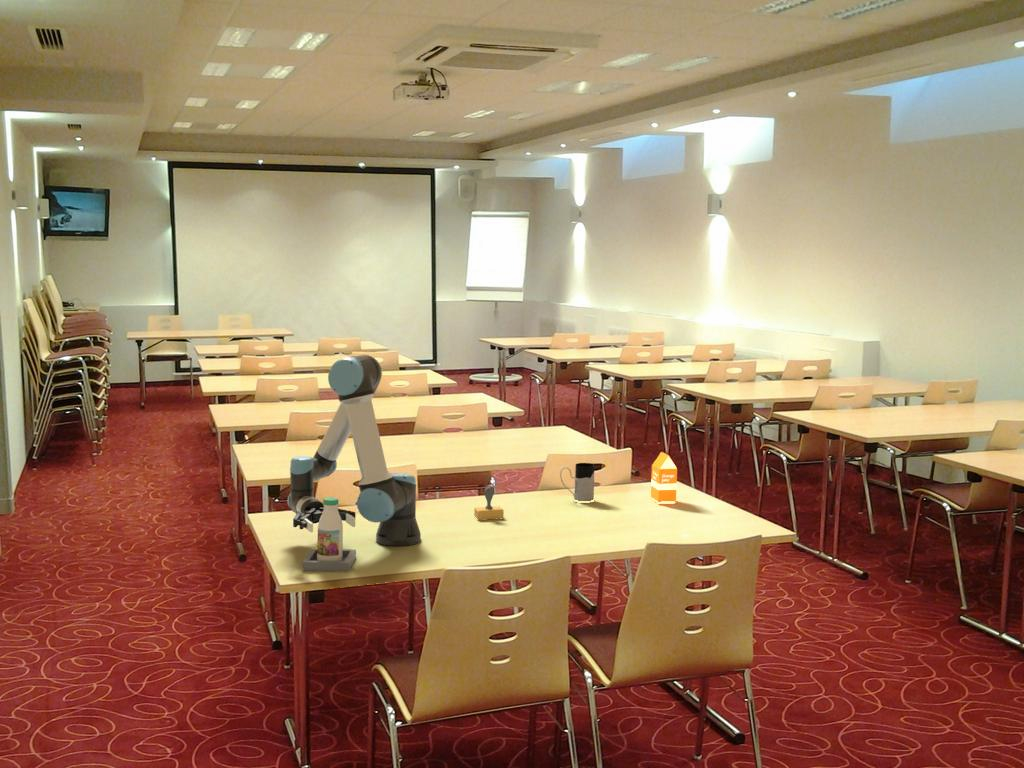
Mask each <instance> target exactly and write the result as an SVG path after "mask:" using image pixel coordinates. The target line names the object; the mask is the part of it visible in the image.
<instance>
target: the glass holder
mask: <svg viewBox="0 0 1024 768" xmlns="http://www.w3.org/2000/svg"><path fill="white" fill-rule="evenodd" d="M565 469H567V470H568V471H569V473H570V474H569V475H570V478H571V479H574V492H573V491H572V490H571V489H569V488H568V487H567V485H566V484H565V483H564V481H563V478H562V472H563V470H565ZM574 471H575V473H574V474H575V475H574V477H573V476H572V471H571V469H570V468H569V467H566V466H565V467H562V468H561V470H560V472H559V476H560V481H561V483H562V485H563V487H564V488H565V489H567V490H568V491H569V492H570V493H572V495H573V500H574V499H575V500H578V501H591V500H593V499H594V500H595V497H594V496H595V464H594V463H590V462H579V463H576V464H575V470H574Z"/></svg>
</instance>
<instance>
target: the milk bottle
mask: <svg viewBox="0 0 1024 768" xmlns="http://www.w3.org/2000/svg"><path fill="white" fill-rule="evenodd" d="M322 503H323V504H324V505H323V506H324V510H323V513H322V515H321V517H320V520H319V522H318V523H317V546H316V547H317V548H316V549H317V561H342V551H343V549H344V548H343V545H344V543H343V541H344V540H343V539H344V530H343V529H344V527H343V525H344V524H343V521H342V520H341V517H340V515H339V512H338V508H339V498H338V497H335V496H333V497H330V496H329V497H324V498H323V502H322Z"/></svg>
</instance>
